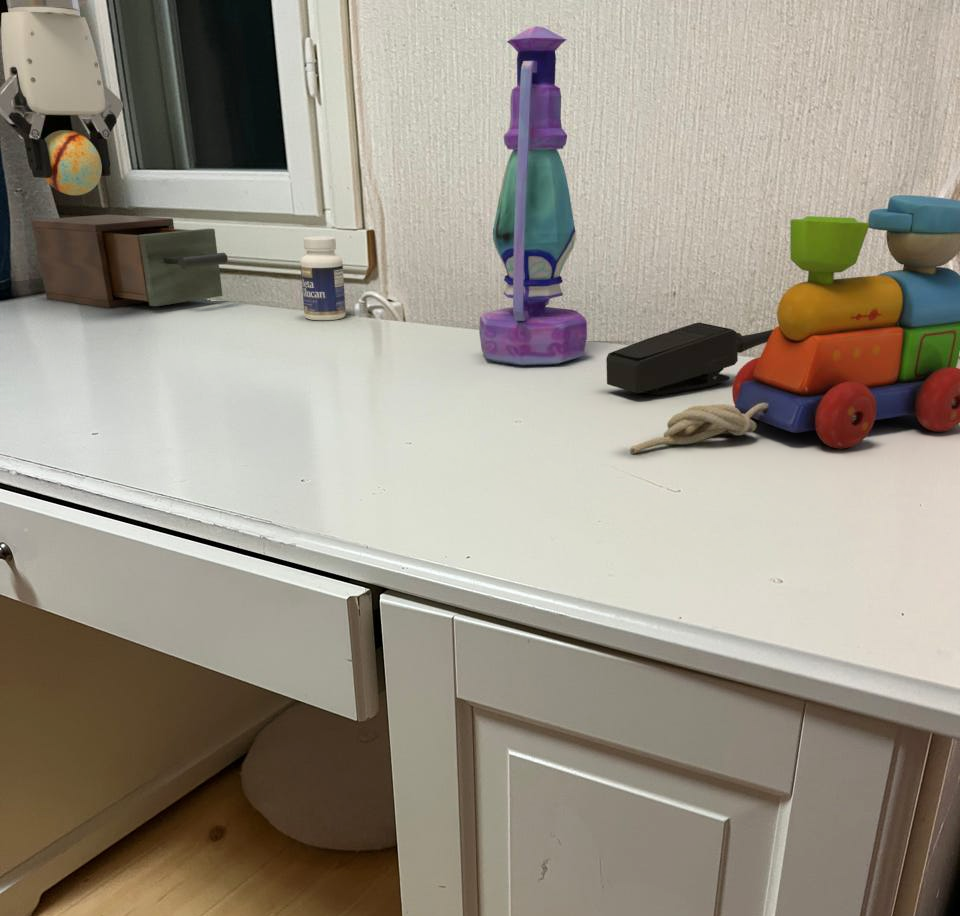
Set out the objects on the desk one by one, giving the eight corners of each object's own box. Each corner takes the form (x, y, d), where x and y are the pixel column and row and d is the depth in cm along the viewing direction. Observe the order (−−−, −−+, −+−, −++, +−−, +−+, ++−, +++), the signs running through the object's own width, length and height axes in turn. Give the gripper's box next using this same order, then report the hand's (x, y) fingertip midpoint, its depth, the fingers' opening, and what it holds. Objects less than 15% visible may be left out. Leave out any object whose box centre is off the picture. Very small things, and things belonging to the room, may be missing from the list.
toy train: (593, 436, 77) (604, 203, 69) (872, 396, 88) (907, 191, 80) (686, 480, 67) (710, 214, 60) (987, 429, 78) (1040, 198, 70)
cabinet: (184, 296, 147) (173, 218, 142) (109, 308, 138) (94, 224, 133) (120, 288, 155) (108, 214, 150) (46, 298, 146) (30, 220, 141)
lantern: (495, 343, 112) (494, 34, 98) (596, 348, 109) (610, 30, 95) (461, 367, 100) (455, 21, 87) (574, 372, 98) (586, 16, 84)
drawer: (245, 298, 138) (237, 230, 134) (177, 309, 130) (167, 237, 126) (159, 288, 149) (150, 224, 144) (91, 297, 140) (79, 230, 136)
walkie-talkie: (590, 365, 91) (749, 322, 99) (621, 421, 90) (779, 374, 98) (619, 323, 85) (784, 282, 94) (653, 383, 84) (817, 336, 92)
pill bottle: (297, 320, 127) (290, 238, 123) (315, 313, 132) (309, 235, 127) (335, 321, 126) (329, 239, 121) (352, 315, 131) (347, 235, 126)
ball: (31, 196, 117) (19, 129, 114) (70, 193, 123) (59, 130, 120) (81, 197, 115) (69, 130, 112) (118, 194, 121) (108, 130, 118)
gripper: (92, 9, 118) (117, 173, 126) (-52, -5, 106) (-14, 178, 114) (129, 5, 114) (153, 175, 122) (-16, -10, 102) (21, 179, 110)
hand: (72, 175), depth 118 cm, fingers closed on ball, 7 cm apart
